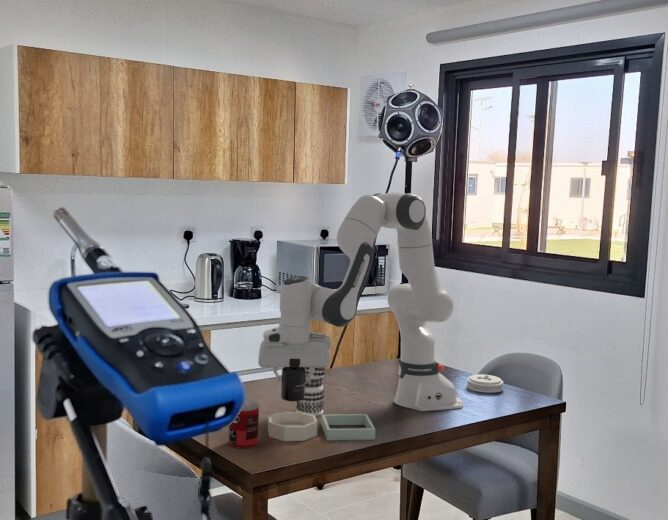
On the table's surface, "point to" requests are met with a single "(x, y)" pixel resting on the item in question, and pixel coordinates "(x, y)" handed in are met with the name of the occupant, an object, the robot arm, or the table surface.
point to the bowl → (292, 426)
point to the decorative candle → (313, 392)
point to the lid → (485, 383)
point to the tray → (348, 433)
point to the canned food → (245, 426)
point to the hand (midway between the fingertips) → (293, 382)
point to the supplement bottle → (293, 381)
